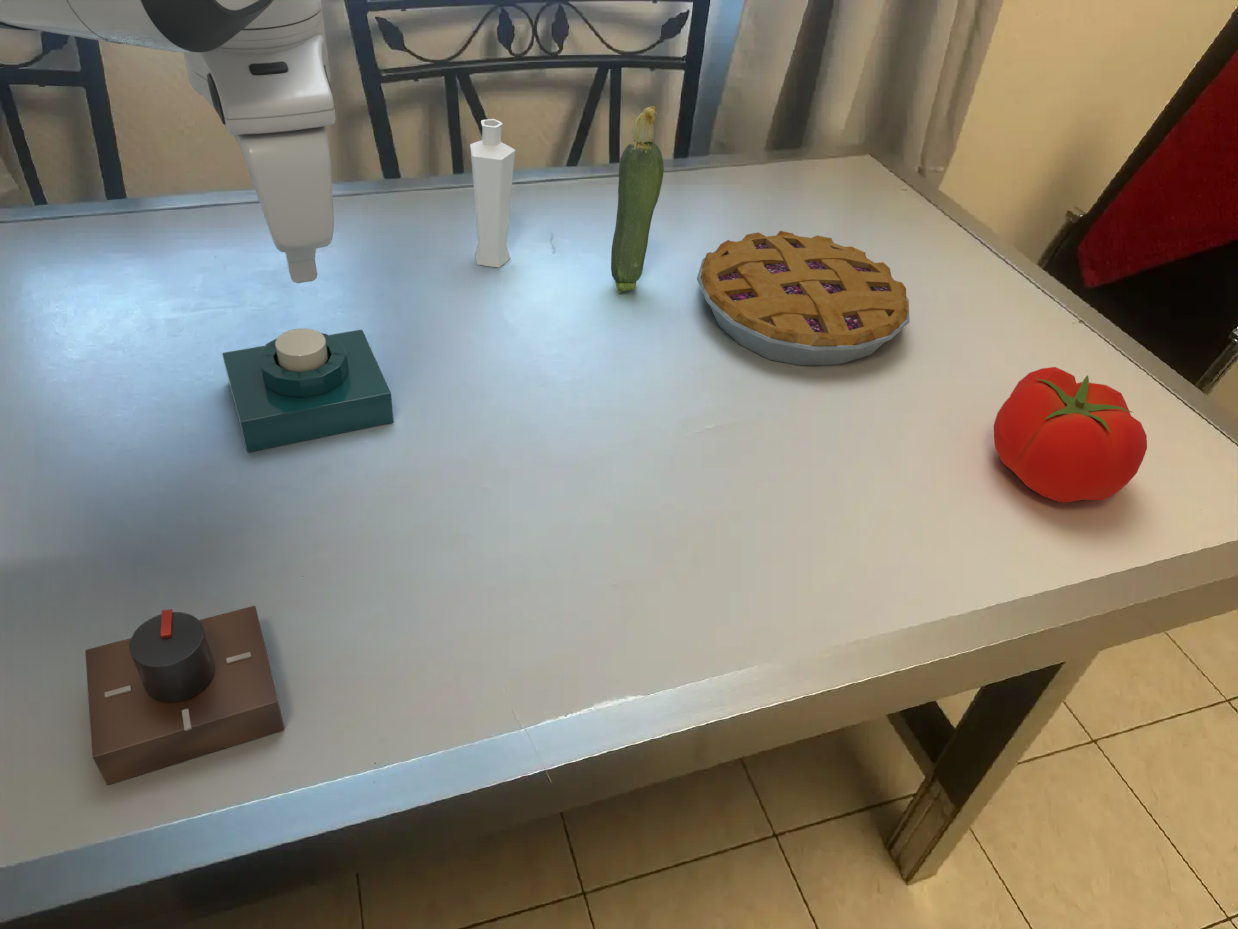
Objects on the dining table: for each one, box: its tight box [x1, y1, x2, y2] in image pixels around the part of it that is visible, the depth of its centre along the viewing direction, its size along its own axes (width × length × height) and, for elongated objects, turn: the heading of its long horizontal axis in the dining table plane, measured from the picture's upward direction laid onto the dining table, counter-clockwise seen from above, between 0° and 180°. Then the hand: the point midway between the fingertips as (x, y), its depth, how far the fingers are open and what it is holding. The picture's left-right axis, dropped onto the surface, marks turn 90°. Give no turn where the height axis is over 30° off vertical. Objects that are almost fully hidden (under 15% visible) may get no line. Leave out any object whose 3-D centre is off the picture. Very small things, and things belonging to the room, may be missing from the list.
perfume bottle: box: [469, 118, 516, 268], centre depth 99 cm, size 5×4×15 cm
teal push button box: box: [221, 329, 395, 453], centre depth 81 cm, size 12×10×5 cm
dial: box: [129, 608, 215, 703], centre depth 56 cm, size 4×4×4 cm
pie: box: [696, 230, 911, 366], centre depth 99 cm, size 22×22×5 cm
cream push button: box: [275, 327, 328, 372], centre depth 79 cm, size 4×4×2 cm
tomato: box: [993, 366, 1148, 504], centre depth 82 cm, size 13×12×8 cm
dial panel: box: [85, 605, 286, 786], centre depth 59 cm, size 10×8×3 cm
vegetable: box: [610, 105, 665, 295], centre depth 95 cm, size 4×4×20 cm
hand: (291, 245), depth 71 cm, fingers open, 8 cm apart
